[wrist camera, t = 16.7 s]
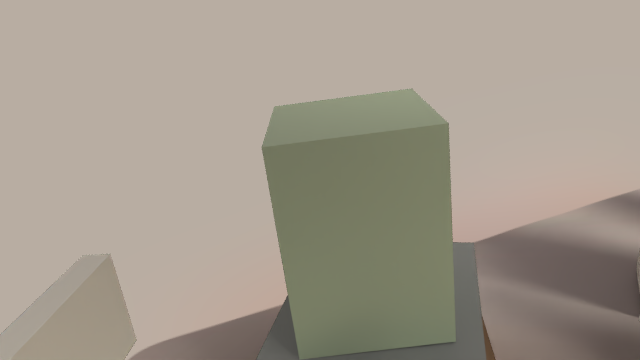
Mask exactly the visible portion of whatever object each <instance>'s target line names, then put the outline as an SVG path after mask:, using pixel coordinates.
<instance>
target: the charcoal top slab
mask: <svg viewBox="0 0 640 360" xmlns="http://www.w3.org/2000/svg"><path fill="white" fill-rule="evenodd" d="M453 268H454V298H455V327H456V342H447V343H439V344H430V345H421V346H413V347H404V348H395V349H387V350H378V351H369V352H361V353H352V354H343V355H335V356H326V357H317V358H309V359H299V354H298V348H297V343H296V337H295V331H294V326H293V320H292V315H291V309H290V303H289V298H288V296H287V298H286V300H285V302H284V304H283V306H282V308H281V310H280V312H279V314H278V316H277V318H276V320H275V322H274V324H273V326H272V328H271V330H270V332H269V334H268V336H267V338H266V340H265V342H264V344H263V346H262V348H261V350H260V352H259V354H258V356H257V358H256V360H486V352H485V343H484V333H483V324H482V315H481V306H480V296H479V287H478V278H477V269H476V259H475V250H474V243H458V242H453Z"/></svg>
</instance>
